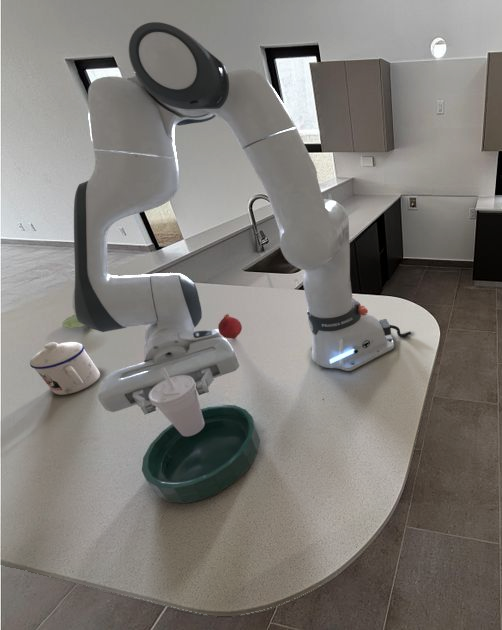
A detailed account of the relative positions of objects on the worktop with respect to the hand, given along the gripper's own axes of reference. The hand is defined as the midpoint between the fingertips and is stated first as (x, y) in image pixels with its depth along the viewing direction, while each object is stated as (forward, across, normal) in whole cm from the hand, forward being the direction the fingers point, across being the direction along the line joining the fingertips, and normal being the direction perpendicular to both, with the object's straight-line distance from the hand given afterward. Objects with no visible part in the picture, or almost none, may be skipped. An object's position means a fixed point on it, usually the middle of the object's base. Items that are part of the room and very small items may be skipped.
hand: (176, 400), depth 54 cm
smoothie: (-1, 0, +8) cm, 8 cm away
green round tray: (0, 0, +16) cm, 16 cm away
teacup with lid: (-40, -24, +16) cm, 50 cm away
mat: (-76, -26, +17) cm, 82 cm away
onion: (-41, +10, +16) cm, 45 cm away
